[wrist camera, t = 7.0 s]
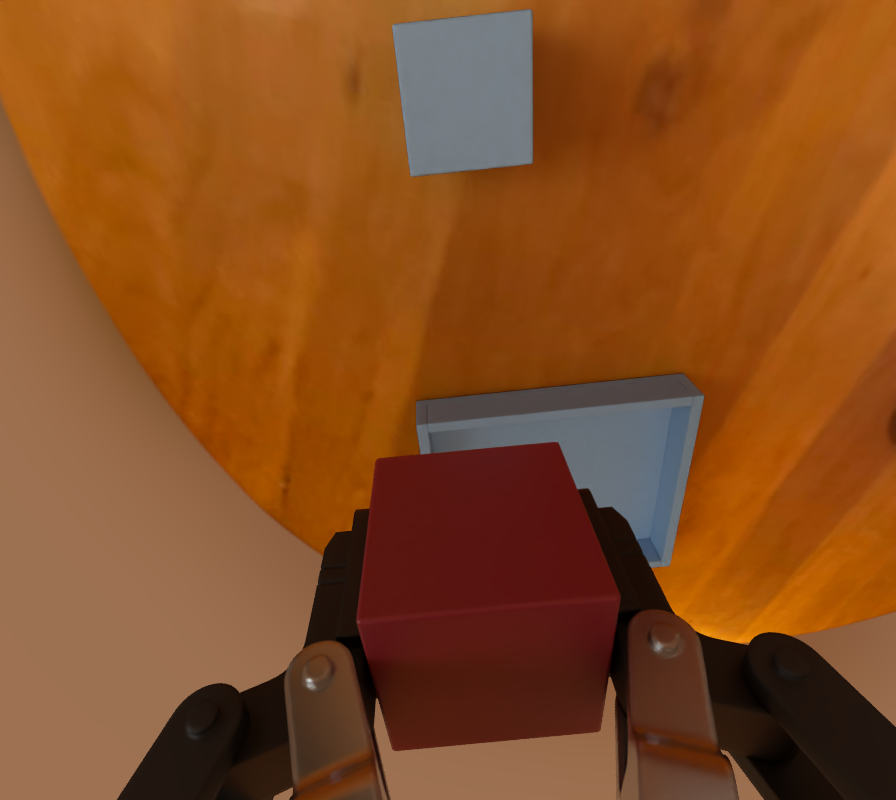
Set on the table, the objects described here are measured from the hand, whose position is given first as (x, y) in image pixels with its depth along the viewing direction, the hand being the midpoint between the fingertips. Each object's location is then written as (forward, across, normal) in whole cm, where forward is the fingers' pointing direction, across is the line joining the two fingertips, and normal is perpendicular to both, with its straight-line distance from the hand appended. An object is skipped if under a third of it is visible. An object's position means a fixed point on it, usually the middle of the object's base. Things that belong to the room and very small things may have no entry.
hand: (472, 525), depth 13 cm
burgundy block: (0, 0, 0) cm, 0 cm away
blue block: (+15, -1, -10) cm, 18 cm away
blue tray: (+15, -6, +12) cm, 20 cm away
